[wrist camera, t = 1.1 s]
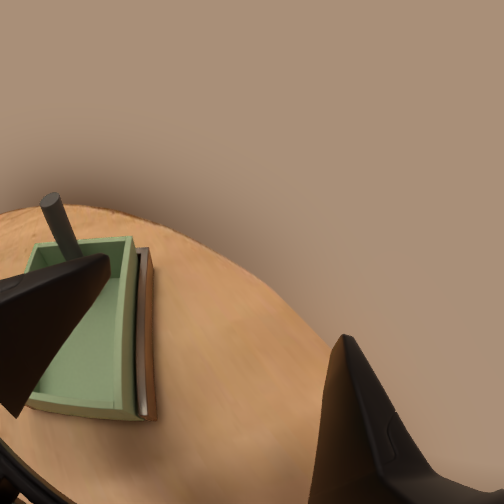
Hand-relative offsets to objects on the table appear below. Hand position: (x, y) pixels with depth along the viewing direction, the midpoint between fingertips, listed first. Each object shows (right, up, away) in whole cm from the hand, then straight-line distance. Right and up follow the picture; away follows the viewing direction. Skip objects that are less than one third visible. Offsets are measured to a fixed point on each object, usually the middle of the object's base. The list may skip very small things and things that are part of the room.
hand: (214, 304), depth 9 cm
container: (-14, -7, +13) cm, 20 cm away
